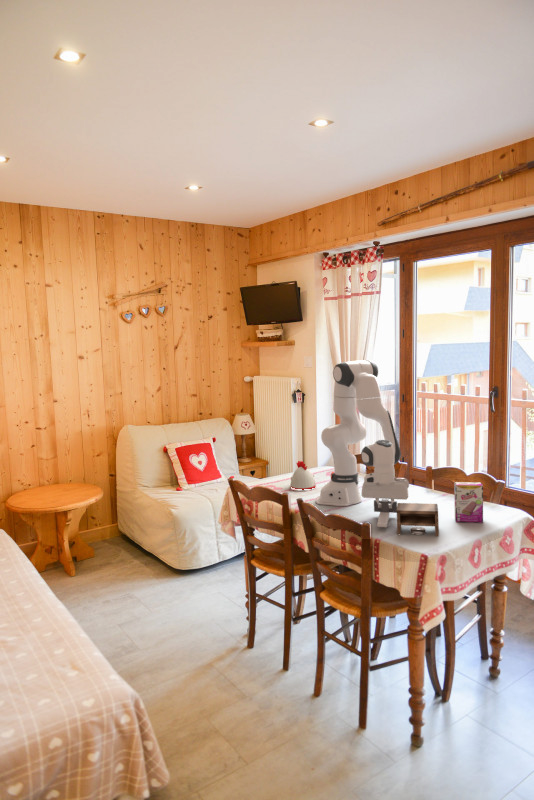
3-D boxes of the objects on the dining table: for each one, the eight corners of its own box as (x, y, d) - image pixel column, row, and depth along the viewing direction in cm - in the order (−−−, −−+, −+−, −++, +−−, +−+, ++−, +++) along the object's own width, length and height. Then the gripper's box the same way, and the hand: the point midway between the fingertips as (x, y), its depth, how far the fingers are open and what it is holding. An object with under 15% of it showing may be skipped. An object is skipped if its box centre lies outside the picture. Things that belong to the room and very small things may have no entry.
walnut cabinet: (397, 534, 220) (396, 510, 219) (398, 526, 230) (397, 502, 229) (438, 536, 216) (438, 511, 215) (437, 527, 225) (437, 503, 224)
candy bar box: (455, 522, 230) (455, 484, 229) (454, 518, 235) (453, 481, 233) (483, 523, 228) (483, 484, 226) (482, 519, 232) (481, 481, 231)
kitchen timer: (304, 483, 309) (303, 457, 308) (320, 487, 298) (319, 460, 296) (285, 488, 301) (284, 461, 300) (301, 492, 290) (299, 465, 288)
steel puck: (410, 535, 220) (410, 531, 220) (410, 530, 225) (410, 526, 225) (425, 535, 218) (425, 532, 218) (425, 530, 224) (425, 527, 224)
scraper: (369, 526, 226) (369, 512, 226) (374, 510, 245) (374, 498, 244) (394, 527, 223) (394, 513, 223) (397, 512, 242) (396, 499, 241)
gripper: (409, 476, 239) (409, 506, 241) (362, 474, 245) (362, 504, 246) (408, 480, 233) (408, 511, 235) (360, 478, 239) (361, 508, 240)
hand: (385, 507), depth 241 cm, fingers closed on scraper, 3 cm apart
